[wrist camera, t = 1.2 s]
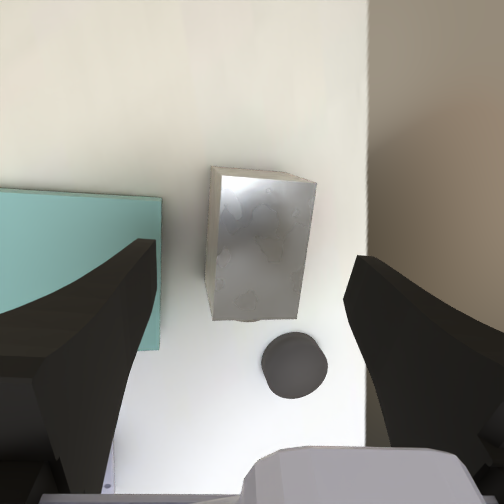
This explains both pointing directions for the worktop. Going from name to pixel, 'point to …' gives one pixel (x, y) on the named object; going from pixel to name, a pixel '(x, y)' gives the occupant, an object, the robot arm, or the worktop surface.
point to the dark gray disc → (294, 365)
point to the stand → (70, 242)
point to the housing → (256, 243)
